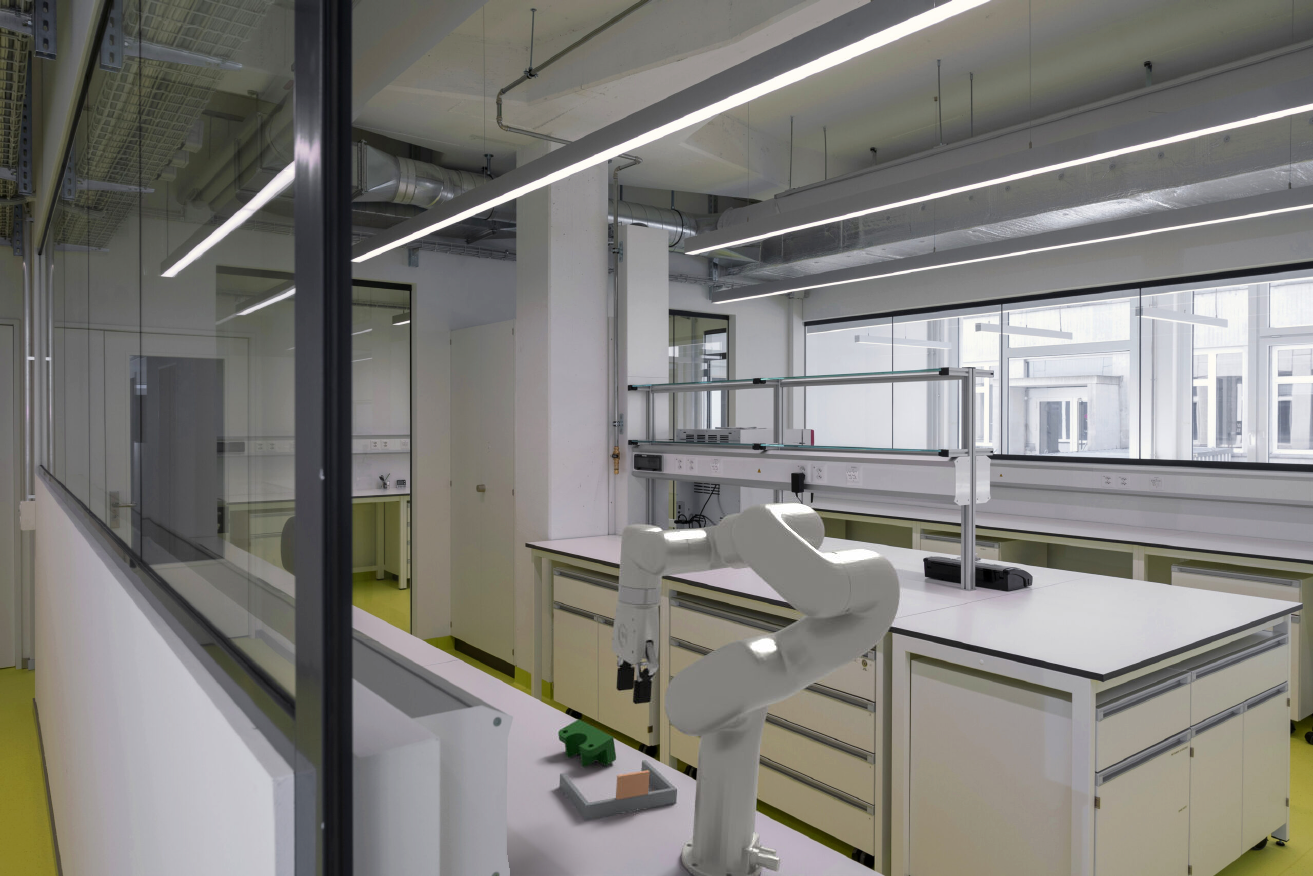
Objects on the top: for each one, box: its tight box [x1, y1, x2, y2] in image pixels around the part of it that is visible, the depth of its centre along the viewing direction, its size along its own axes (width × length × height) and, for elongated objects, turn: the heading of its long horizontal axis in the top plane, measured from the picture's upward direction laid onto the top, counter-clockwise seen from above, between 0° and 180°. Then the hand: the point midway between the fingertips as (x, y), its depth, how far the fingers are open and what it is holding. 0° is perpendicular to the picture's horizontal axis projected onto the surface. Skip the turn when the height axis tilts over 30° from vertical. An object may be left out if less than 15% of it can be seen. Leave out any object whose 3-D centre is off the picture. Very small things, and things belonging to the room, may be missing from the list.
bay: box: [558, 759, 678, 821], centre depth 142 cm, size 13×18×6 cm
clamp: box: [557, 718, 617, 768], centre depth 156 cm, size 12×6×9 cm, turn 38°
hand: (633, 695), depth 138 cm, fingers open, 6 cm apart
